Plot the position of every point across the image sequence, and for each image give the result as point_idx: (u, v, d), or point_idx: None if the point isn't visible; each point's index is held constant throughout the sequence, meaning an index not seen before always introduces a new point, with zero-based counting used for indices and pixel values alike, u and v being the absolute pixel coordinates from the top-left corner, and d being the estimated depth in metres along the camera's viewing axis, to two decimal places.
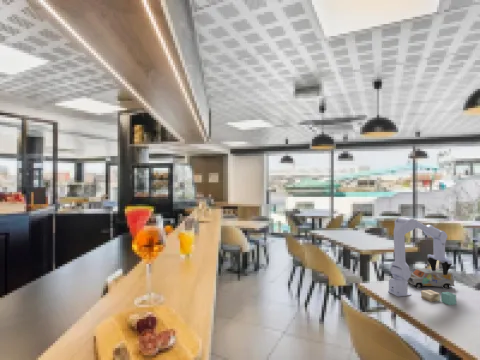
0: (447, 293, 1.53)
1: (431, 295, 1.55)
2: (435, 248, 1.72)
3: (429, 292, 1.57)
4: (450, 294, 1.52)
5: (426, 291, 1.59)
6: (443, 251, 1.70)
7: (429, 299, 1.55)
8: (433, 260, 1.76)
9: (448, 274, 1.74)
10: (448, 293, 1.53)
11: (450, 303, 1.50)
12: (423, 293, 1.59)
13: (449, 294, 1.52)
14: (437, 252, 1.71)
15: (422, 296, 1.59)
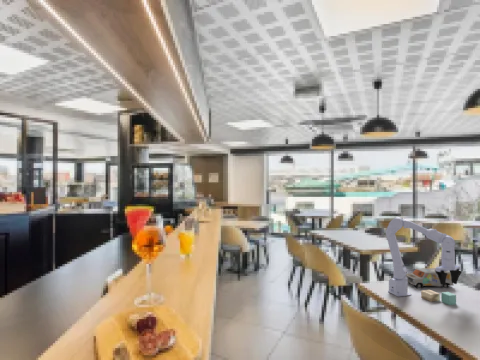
0: (447, 293, 1.53)
1: (431, 295, 1.55)
2: None
3: (429, 292, 1.57)
4: (450, 294, 1.52)
5: (426, 291, 1.59)
6: (444, 259, 1.52)
7: (429, 299, 1.55)
8: (453, 271, 1.54)
9: (447, 274, 1.75)
10: (448, 293, 1.53)
11: (450, 303, 1.50)
12: (423, 293, 1.59)
13: (449, 294, 1.52)
14: None
15: (422, 296, 1.59)
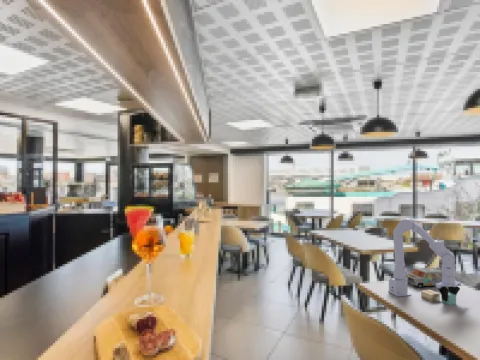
0: None
1: (431, 295, 1.54)
2: (442, 271, 1.54)
3: (429, 292, 1.57)
4: (450, 294, 1.52)
5: (426, 291, 1.59)
6: (444, 275, 1.52)
7: (429, 299, 1.55)
8: (451, 287, 1.54)
9: None
10: (448, 293, 1.53)
11: (450, 303, 1.50)
12: (423, 293, 1.59)
13: (449, 294, 1.52)
14: None
15: (422, 296, 1.59)
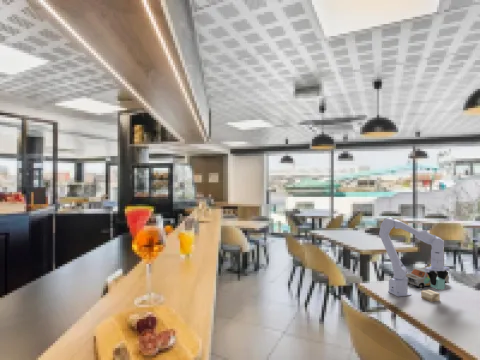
0: None
1: (432, 295, 1.54)
2: (431, 256, 1.58)
3: (429, 292, 1.57)
4: (439, 279, 1.55)
5: (426, 291, 1.59)
6: (433, 260, 1.55)
7: (430, 299, 1.55)
8: (440, 272, 1.57)
9: None
10: (437, 278, 1.56)
11: (439, 287, 1.53)
12: (423, 293, 1.59)
13: (438, 279, 1.55)
14: None
15: (422, 296, 1.59)
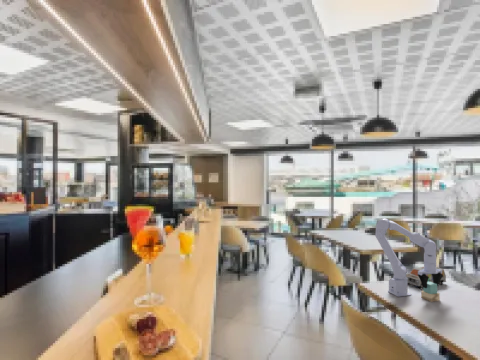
0: (429, 282, 1.58)
1: (432, 295, 1.54)
2: (424, 259, 1.60)
3: None
4: (431, 283, 1.57)
5: None
6: (426, 263, 1.57)
7: (430, 299, 1.55)
8: (435, 274, 1.59)
9: None
10: (430, 282, 1.58)
11: (431, 292, 1.55)
12: (423, 293, 1.58)
13: (431, 283, 1.57)
14: None
15: (422, 296, 1.59)
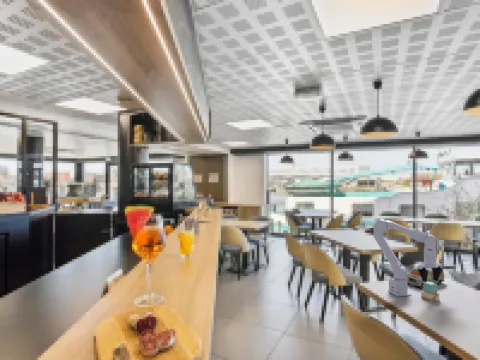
0: (429, 282, 1.58)
1: (432, 295, 1.54)
2: (424, 253, 1.60)
3: None
4: (431, 283, 1.57)
5: None
6: (426, 257, 1.58)
7: (430, 299, 1.55)
8: (435, 269, 1.59)
9: None
10: (430, 282, 1.58)
11: (431, 292, 1.56)
12: (423, 293, 1.59)
13: (431, 283, 1.57)
14: None
15: (422, 296, 1.59)
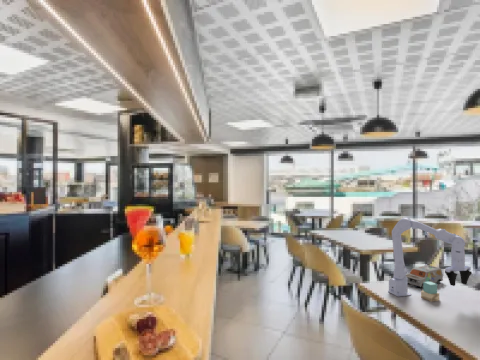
0: (429, 282, 1.58)
1: (432, 295, 1.54)
2: (451, 256, 1.52)
3: None
4: (431, 283, 1.57)
5: None
6: (453, 259, 1.50)
7: (430, 299, 1.55)
8: (463, 271, 1.52)
9: (439, 270, 1.82)
10: (430, 282, 1.58)
11: (431, 292, 1.56)
12: (423, 293, 1.59)
13: (431, 283, 1.57)
14: None
15: (422, 296, 1.59)
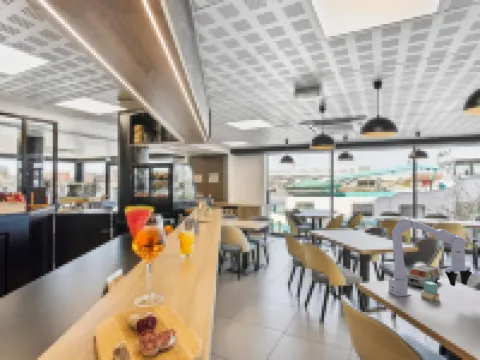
0: (429, 282, 1.58)
1: (432, 295, 1.54)
2: (451, 256, 1.52)
3: None
4: (432, 283, 1.57)
5: None
6: (454, 259, 1.50)
7: (429, 299, 1.55)
8: (463, 272, 1.52)
9: (436, 269, 1.84)
10: (430, 282, 1.58)
11: (431, 292, 1.55)
12: (423, 293, 1.59)
13: (431, 283, 1.57)
14: None
15: (422, 296, 1.59)
